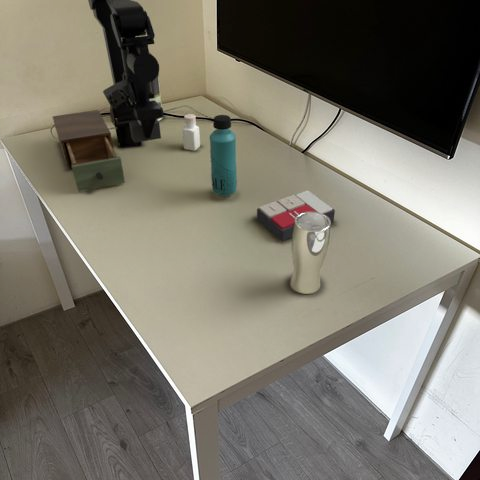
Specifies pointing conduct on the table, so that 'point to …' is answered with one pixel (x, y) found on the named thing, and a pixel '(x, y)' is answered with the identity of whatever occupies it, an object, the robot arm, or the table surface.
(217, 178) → the beverage bottle
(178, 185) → the table surface
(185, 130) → the salt shaker
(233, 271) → the table surface
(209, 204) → the table surface
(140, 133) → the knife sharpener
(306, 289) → the beer glass
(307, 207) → the grey and red box
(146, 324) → the table surface
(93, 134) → the cabinet
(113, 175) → the drawer
